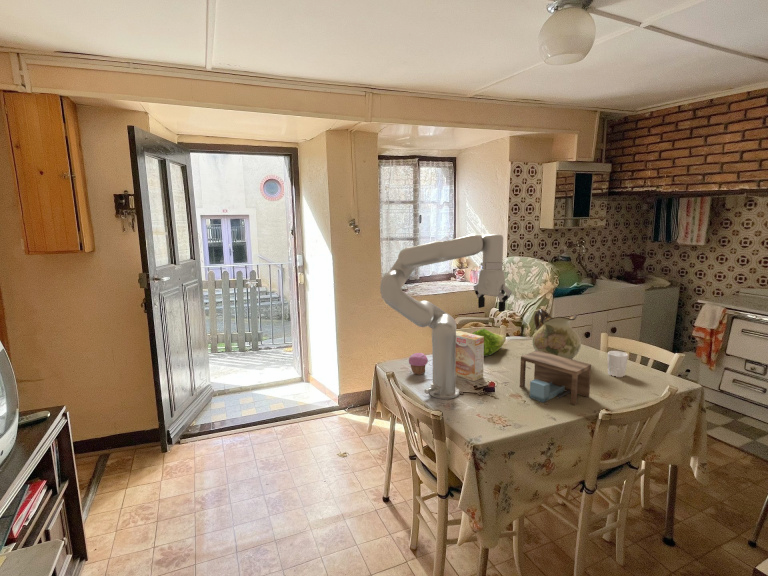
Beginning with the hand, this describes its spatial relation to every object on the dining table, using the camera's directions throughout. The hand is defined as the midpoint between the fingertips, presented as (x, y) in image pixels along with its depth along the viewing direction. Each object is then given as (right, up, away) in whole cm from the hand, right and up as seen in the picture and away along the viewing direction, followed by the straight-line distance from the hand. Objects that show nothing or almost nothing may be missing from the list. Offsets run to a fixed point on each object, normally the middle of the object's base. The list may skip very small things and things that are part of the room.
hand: (491, 309), depth 164 cm
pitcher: (+43, -28, +44) cm, 68 cm away
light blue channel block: (+24, -35, +6) cm, 43 cm away
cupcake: (-26, -32, +32) cm, 52 cm away
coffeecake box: (-5, -32, +29) cm, 43 cm away
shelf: (+28, -35, +9) cm, 45 cm away
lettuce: (+15, -26, +61) cm, 68 cm away
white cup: (+63, -31, +25) cm, 75 cm away
